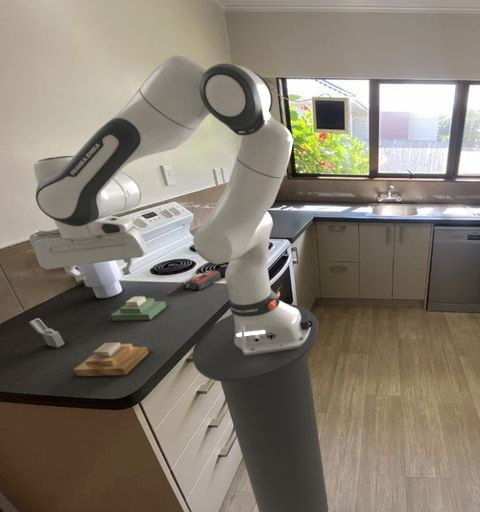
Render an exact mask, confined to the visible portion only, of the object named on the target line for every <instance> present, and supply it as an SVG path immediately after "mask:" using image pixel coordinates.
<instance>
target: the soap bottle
mask: <svg viewBox="0 0 480 512" xmlns="http://www.w3.org/2000/svg"><path fill="white" fill-rule="evenodd" d="M119 268H120V267H119V265H118V262H117V260H115V261H107V262H100V263H92V264H85V265H78V266H76V269H77V270H78V271H79V272H80V273H85V274H86V276H87V280H86V281H83V284H84V285H85V287H87V288H92V290H93V292H94V295H95V297H96V298H97V299H107V298H111V297H112V298H113V297H115V296H118V295H119V294H120V293H122V291H123V288H122V285H121V283H120V280H121V279H122V277H123V276H122V273H121V270H120V269H119Z"/></svg>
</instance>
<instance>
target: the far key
mask: <svg viewBox="0 0 480 512" xmlns="http://www.w3.org/2000/svg"><path fill="white" fill-rule="evenodd" d="M145 298H146V296H143V295H142V296H133V297H131V298H130V299H128V300H127V301H125V305H127V307H139V306H140V305H142V304H143V303H144V302H146V299H145Z"/></svg>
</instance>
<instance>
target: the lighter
mask: <svg viewBox="0 0 480 512" xmlns="http://www.w3.org/2000/svg"><path fill="white" fill-rule="evenodd" d="M29 324H30V326H31V327H32V328H33V329H34V330H35V331H36V332H37V334H38V335H39V334H41V336H42V337H43V339H44V341H45V343H46V344H47V346H49V347H53V348H55V349H56V348H57V349H58V348H60V347H61V346H64V345H65V341H64V340H63V338H62V336H61V334H60V332H59V331H57V330H54V329H53V328H50V327H47V326H46V325H45V323H44V322H43V321H42V319H40V318H39V317H36V318H35V319H33V320H30V321H29Z"/></svg>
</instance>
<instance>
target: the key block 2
mask: <svg viewBox="0 0 480 512" xmlns="http://www.w3.org/2000/svg"><path fill="white" fill-rule="evenodd" d="M120 345H121V347H122V348H121V349H120V350H119V351H118V352H117V353H115V354H114V355H113V356H112V357H111V358H96V356H95V354H94V353H93V354H91V355H90V356H89V357H88V358H86V359H85V360H84V361H83V362H81V363H80V364H79V365H77V366H75V368H73V371H74V374H75V375H76V377H98V376H99V377H100V376H127V375H128V374H129V372H131V371H132V370H133V369H134V368H135V367H136V366H137V365H138V364H139V363H140V362H141V361H142V360H143V359H144V358H145V357H146V356H147V355H149V350H148V347H147V346H133V344H132V343H120Z"/></svg>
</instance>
